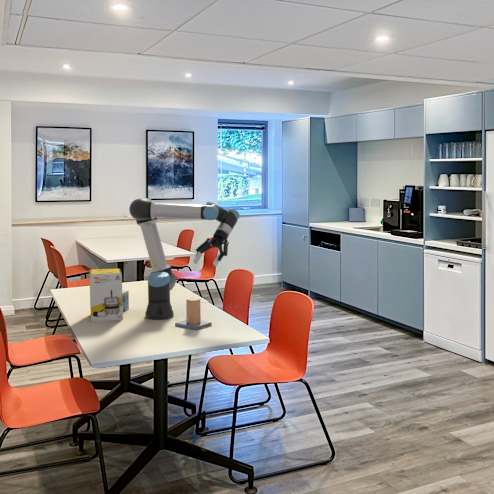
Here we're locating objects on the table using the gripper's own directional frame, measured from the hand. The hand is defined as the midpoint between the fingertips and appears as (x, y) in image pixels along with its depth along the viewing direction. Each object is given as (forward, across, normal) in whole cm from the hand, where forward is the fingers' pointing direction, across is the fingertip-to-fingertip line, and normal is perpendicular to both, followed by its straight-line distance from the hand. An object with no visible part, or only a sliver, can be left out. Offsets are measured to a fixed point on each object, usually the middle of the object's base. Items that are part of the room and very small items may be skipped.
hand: (204, 264), depth 317 cm
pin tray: (+31, -4, -11) cm, 33 cm away
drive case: (+29, -4, -10) cm, 32 cm away
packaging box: (+41, +46, -2) cm, 62 cm away
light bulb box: (+30, +52, -12) cm, 61 cm away
